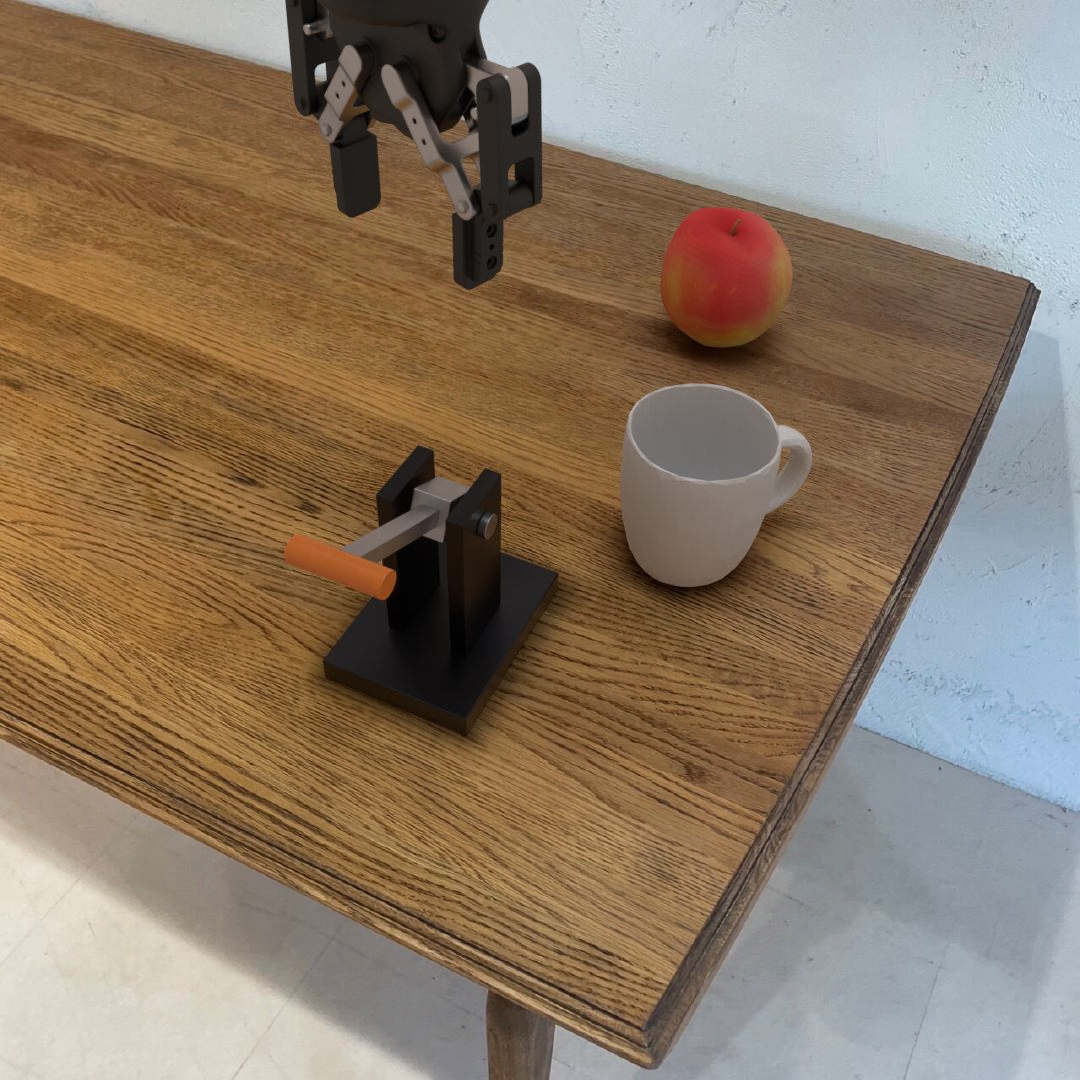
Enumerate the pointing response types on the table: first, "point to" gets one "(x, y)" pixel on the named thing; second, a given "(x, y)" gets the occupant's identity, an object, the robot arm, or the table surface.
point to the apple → (725, 276)
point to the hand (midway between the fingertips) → (416, 244)
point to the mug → (703, 479)
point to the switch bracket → (443, 608)
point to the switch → (379, 542)
